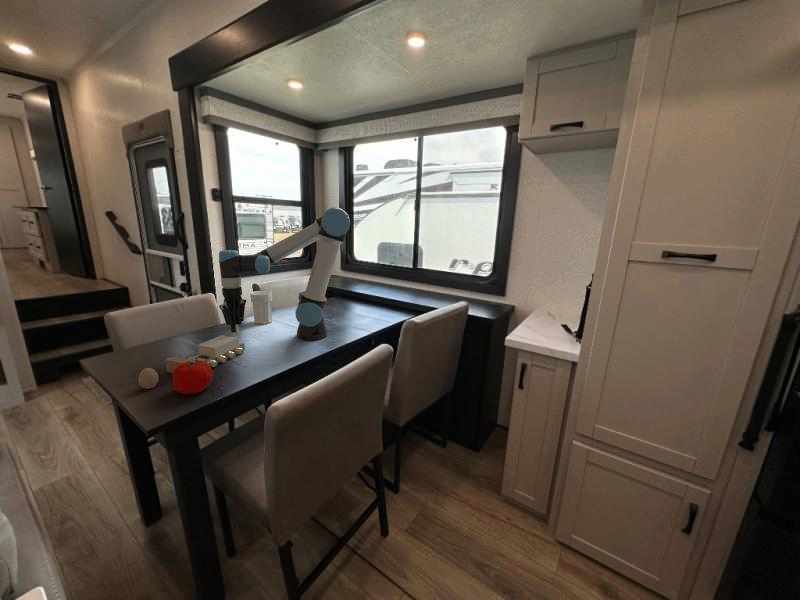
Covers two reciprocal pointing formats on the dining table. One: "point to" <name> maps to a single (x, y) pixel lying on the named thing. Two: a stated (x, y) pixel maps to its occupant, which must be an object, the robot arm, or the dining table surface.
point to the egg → (148, 378)
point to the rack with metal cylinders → (203, 358)
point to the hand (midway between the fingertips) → (236, 338)
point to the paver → (218, 346)
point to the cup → (262, 307)
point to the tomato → (192, 377)
